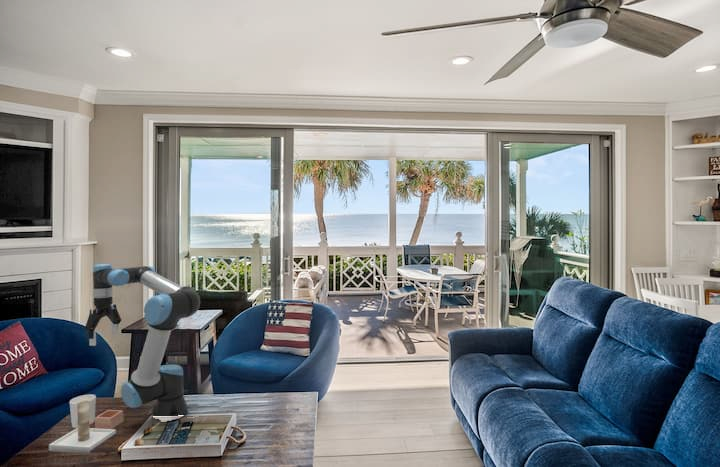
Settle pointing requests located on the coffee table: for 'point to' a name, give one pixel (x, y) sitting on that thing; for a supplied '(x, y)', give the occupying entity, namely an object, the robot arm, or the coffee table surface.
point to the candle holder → (73, 408)
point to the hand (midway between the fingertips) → (104, 341)
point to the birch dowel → (83, 421)
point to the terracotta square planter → (109, 419)
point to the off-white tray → (73, 445)
